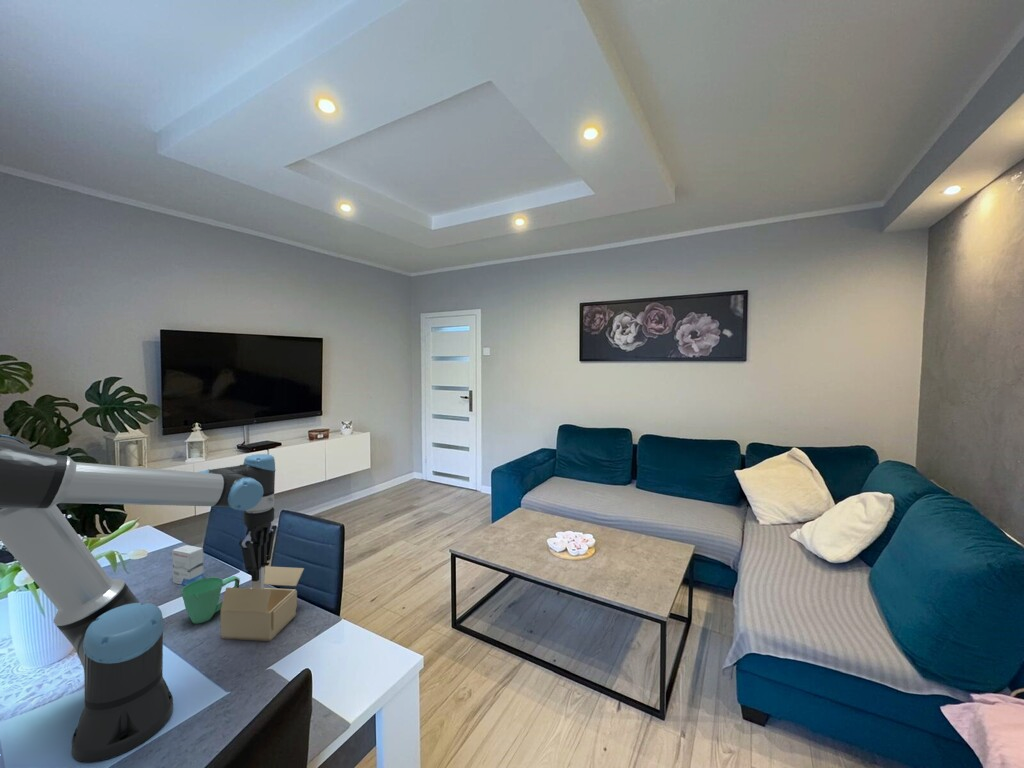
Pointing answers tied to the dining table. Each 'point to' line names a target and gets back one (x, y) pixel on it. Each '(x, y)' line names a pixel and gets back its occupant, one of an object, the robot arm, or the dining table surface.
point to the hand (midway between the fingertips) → (258, 589)
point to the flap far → (282, 576)
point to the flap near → (246, 599)
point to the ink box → (187, 564)
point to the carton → (260, 618)
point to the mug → (204, 597)
